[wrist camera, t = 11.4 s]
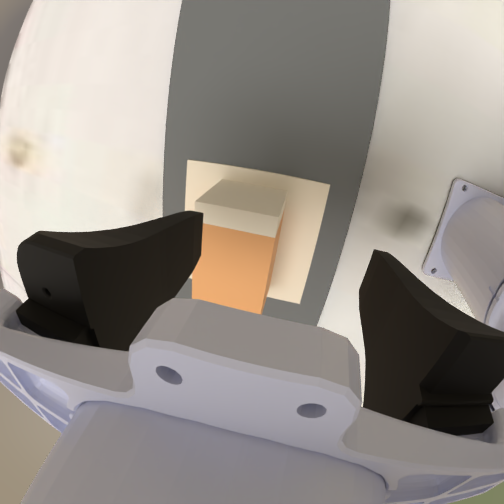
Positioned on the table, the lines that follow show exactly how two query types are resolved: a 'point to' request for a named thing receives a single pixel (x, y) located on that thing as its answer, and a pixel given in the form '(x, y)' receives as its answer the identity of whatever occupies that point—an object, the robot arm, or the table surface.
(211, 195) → the card box
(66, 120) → the table surface
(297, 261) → the pad
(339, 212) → the mat
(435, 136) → the table surface
